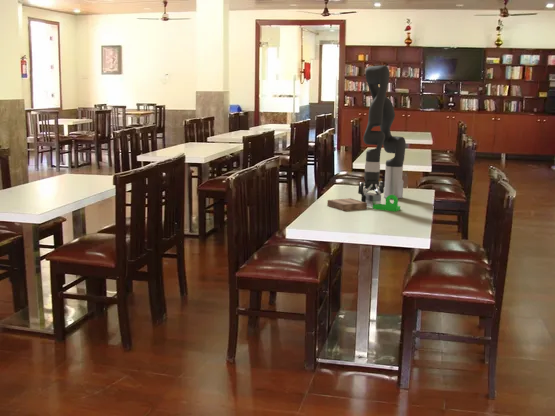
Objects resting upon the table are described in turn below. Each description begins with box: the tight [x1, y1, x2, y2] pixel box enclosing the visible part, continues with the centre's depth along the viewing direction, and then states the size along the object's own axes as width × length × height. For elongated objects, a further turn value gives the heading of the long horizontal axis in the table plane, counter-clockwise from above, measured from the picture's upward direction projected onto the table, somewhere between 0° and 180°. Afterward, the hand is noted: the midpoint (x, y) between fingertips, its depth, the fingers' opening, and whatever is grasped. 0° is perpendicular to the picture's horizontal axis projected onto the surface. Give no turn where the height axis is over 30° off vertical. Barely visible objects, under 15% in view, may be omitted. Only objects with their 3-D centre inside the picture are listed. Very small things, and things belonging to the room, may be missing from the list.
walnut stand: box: [326, 197, 368, 212], centre depth 313 cm, size 14×14×3 cm
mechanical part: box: [372, 195, 401, 212], centre depth 310 cm, size 12×6×8 cm, turn 60°
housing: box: [365, 191, 382, 208], centre depth 320 cm, size 5×9×6 cm, turn 28°
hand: (370, 202), depth 320 cm, fingers open, 8 cm apart
